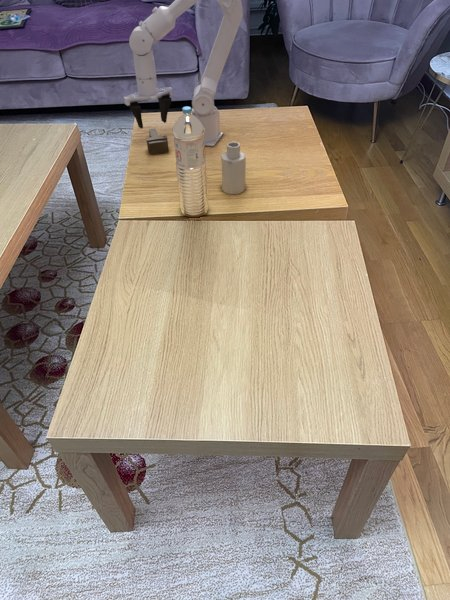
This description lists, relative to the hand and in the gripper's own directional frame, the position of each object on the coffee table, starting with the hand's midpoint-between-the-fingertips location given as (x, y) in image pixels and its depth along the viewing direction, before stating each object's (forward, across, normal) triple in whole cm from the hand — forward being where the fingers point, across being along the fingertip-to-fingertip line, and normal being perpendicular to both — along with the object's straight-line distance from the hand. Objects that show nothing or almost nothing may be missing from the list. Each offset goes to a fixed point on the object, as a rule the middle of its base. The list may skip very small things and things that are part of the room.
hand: (152, 124), depth 135 cm
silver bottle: (+5, +6, -37) cm, 38 cm away
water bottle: (+5, -8, -41) cm, 42 cm away
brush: (+5, -1, -3) cm, 6 cm away
